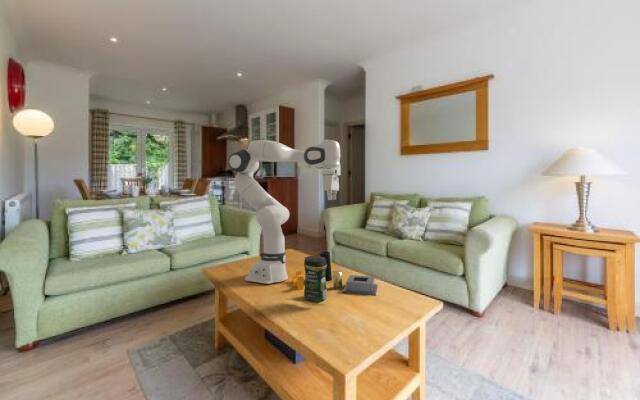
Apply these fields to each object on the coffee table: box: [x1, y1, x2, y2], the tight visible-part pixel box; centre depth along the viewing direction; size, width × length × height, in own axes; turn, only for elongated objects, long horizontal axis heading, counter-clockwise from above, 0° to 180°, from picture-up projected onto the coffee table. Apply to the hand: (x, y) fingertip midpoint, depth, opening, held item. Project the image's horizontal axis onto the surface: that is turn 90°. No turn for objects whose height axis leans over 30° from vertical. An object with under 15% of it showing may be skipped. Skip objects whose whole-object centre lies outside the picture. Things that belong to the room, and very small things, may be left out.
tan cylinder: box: [332, 270, 343, 291], centre depth 138 cm, size 4×4×8 cm
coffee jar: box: [303, 255, 328, 303], centre depth 124 cm, size 10×8×19 cm
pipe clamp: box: [291, 269, 304, 291], centre depth 142 cm, size 12×4×6 cm, turn 10°
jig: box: [342, 274, 378, 296], centre depth 136 cm, size 15×14×5 cm
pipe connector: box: [319, 250, 333, 282], centre depth 148 cm, size 12×5×15 cm, turn 120°
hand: (331, 199), depth 142 cm, fingers open, 8 cm apart
